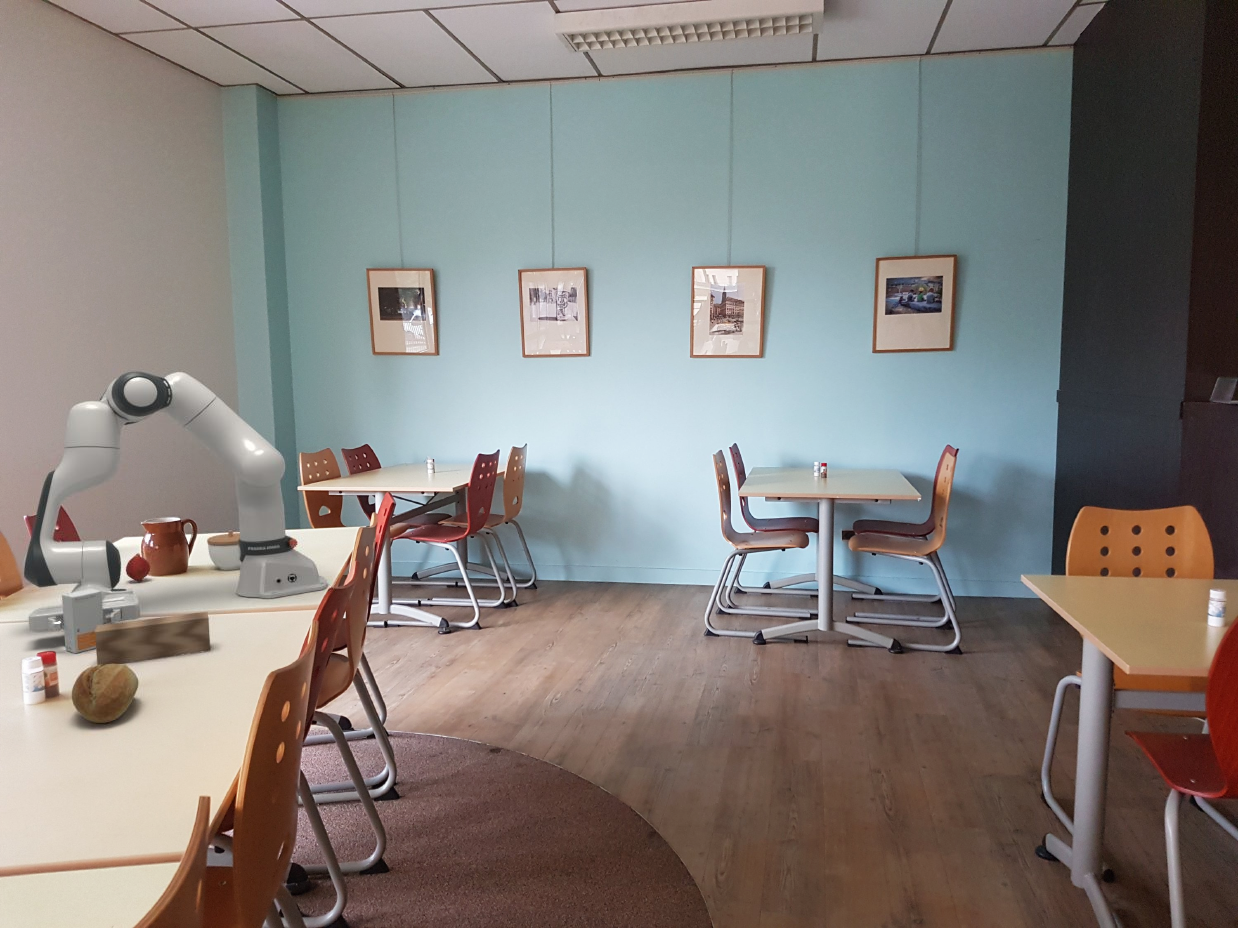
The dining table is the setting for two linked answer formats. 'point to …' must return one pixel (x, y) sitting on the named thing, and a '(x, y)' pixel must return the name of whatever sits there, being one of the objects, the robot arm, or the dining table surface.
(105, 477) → the robot arm
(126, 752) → the dining table surface
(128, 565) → the onion
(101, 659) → the ridge
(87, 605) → the skincare box
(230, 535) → the lidded bowl
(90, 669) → the bread roll
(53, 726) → the dining table surface
